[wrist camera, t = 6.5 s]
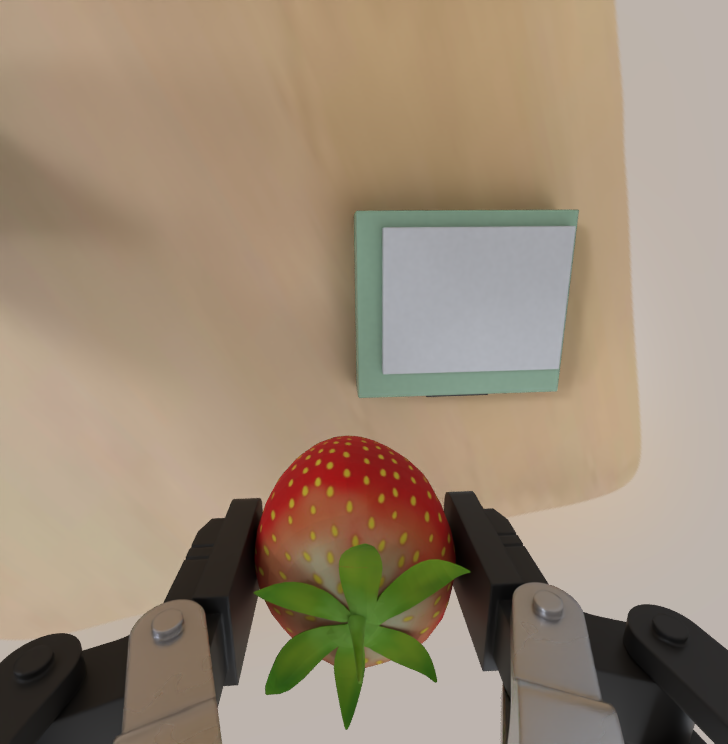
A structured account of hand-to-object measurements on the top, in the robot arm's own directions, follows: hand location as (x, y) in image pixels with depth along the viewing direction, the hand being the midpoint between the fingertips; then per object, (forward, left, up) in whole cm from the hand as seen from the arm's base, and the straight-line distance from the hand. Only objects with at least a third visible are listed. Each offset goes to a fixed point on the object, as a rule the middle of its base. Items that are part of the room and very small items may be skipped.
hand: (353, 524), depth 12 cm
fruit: (0, 0, -4) cm, 4 cm away
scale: (+8, +4, -20) cm, 22 cm away
